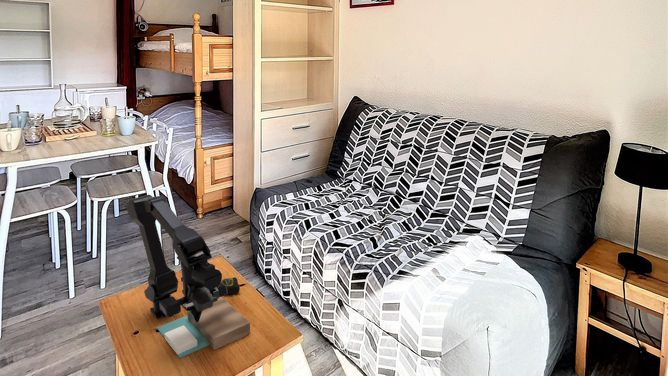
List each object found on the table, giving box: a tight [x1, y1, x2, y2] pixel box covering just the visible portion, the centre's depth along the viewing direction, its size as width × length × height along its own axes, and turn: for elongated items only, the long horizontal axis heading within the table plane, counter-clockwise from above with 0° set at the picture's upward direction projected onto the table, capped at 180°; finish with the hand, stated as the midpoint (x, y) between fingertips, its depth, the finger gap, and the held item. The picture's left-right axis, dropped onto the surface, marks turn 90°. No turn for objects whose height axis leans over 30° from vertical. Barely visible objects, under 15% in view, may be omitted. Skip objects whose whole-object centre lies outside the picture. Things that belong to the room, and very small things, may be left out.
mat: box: [156, 315, 210, 359], centre depth 133 cm, size 17×10×1 cm, turn 42°
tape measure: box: [221, 277, 241, 295], centre depth 157 cm, size 7×7×4 cm
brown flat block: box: [186, 296, 251, 351], centre depth 137 cm, size 18×12×4 cm, turn 42°
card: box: [164, 325, 198, 356], centre depth 130 cm, size 9×6×2 cm, turn 43°
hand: (196, 321), depth 132 cm, fingers closed
